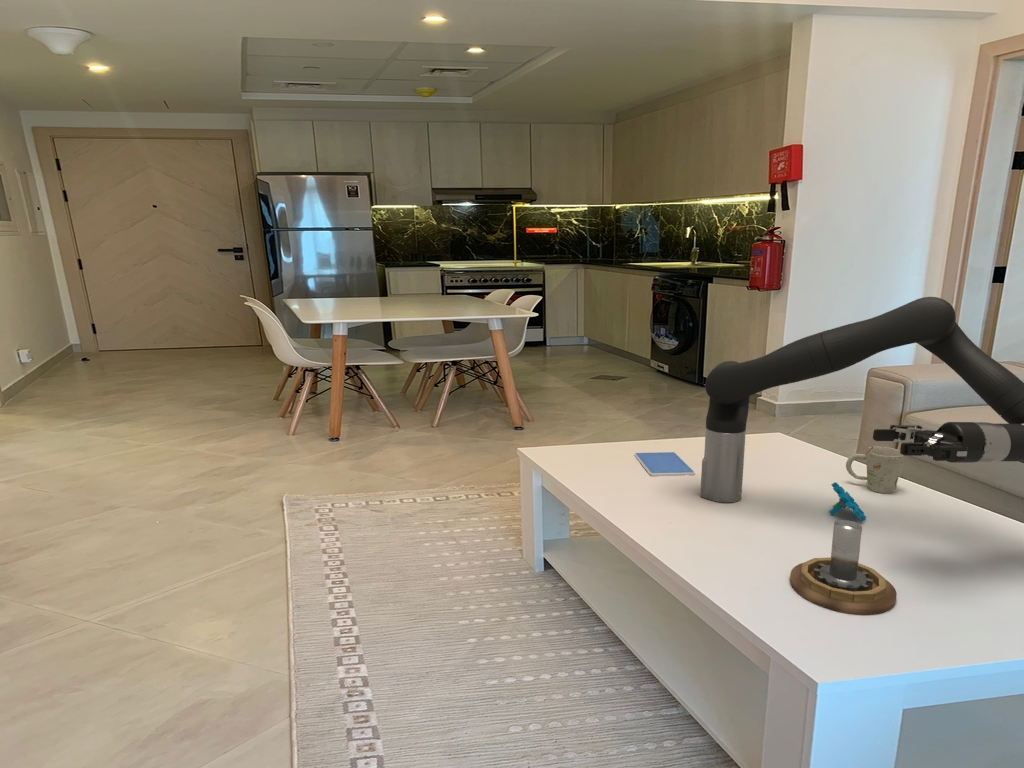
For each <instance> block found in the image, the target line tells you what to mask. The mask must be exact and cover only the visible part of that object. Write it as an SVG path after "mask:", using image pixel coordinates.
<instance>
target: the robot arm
mask: <svg viewBox="0 0 1024 768" xmlns="http://www.w3.org/2000/svg"><path fill="white" fill-rule="evenodd" d="M956 316H957V315H956V311H955V309H954V306H953V305H952V304H951V303H950V302H949V301H947V300H946V299H944V298H941V297H936V296H924V297H920V298H917V299H914V300H912V301H910V302H908V303H905V304H903V305H901V306H898V307H896V308H894V309H892V310H889V311H887V312H883V313H882V314H879V315H877V316H873V317H871V318H868V319H864V320H860V321H856V322H852V323H847V324H844V325H840V326H838V327H834V328H831V329H827V330H824V331H820V332H817V333H814V334H811V335H810V334H809V335H807V336H805V337H802V338H799V339H796V340H795V341H792V342H790V343H788V344H786V345H783V346H781V347H780V348H777V349H775V350H774V351H771V352H770V353H767V354H765V355H763V356H760V357H758V358H753V359H750V360H746V361H742V362H738V361H734V360H727V361H726V360H725V361H723V362H720V363H718V364H717V365H716V366H715V367H713V369H711V371H710V372H709V373H708V374H707V376H706V379H705V384H704V388H705V389H704V390H705V392H706V394H707V396H708V397H709V401H708V402H709V403H708V409H707V414H706V417H705V418H706V419H705V437H704V454H703V455H704V456H703V458H702V460H701V475H700V477H701V478H700V492H699V493H700V497H701V498H705V499H707V500H710V501H713V502H718V503H736V502H739V501H740V500H742V493H743V480H744V479H743V478H744V465H745V446H746V432H747V422H748V417H749V407H750V406H749V405H750V396H753V395H755V394H757V393H761V392H764V391H766V390H768V389H772V388H776V387H780V386H784V385H790V384H794V383H799V382H803V381H807V380H810V379H815V378H819V377H823V376H826V375H828V374H832V373H835V372H839V371H842V370H845V369H847V368H849V367H851V366H855V365H856V364H858V363H860V362H863V361H864V360H866V359H868V358H871V357H873V356H874V355H876V354H879V353H881V352H883V351H887V350H890V349H893V348H895V349H896V348H898V347H903V346H907V345H911V344H918V345H919V346H921V347H922V348H923V349H925V350H927V351H928V352H930V353H931V354H933V355H934V356H935V357H937V358H938V359H939V360H940V361H942V362H943V363H944V364H945V365H947V366H948V367H949V368H950V369H952V370H953V371H954V373H955V374H957V375H958V376H959V377H960V378H961V379H962V380H963V381H964V382H965V383H966V384H967V385H968V386H969V387H970V388H971V389H972V390H973V392H975V393H976V394H977V395H978V396H979V397H980V398H981V399H982V400H983V401H984V402H985V403H986V404H987V406H989V407H990V408H991V409H992V410H993V411H994V412H995V413H996V414H997V415H998V416H1000V418H1001V419H1003V420H1004V421H1005V422H1006V423H992V422H985V421H984V422H983V421H947V422H944V423H943V424H942V425H941V426H940V427H939V428H938V429H934V428H924V429H923V426H921V425H919V424H917V425H911V424H910V425H905V424H902V425H900V424H899V425H898V424H890V426H889V428H875V429H874V430H873V434H872V440H873V441H876V442H895V443H901V444H900V449H899V450H900V453H901V454H902V455H904V456H916V457H917V456H922V457H923V458H926V459H927V458H932V461H935V462H938V461H939V462H944V461H945V462H947V463H954V464H955V463H964V464H965V463H971V464H972V463H974V464H975V463H977V464H979V463H980V464H981V463H983V464H985V463H988V464H989V463H994V462H1020V463H1022V464H1024V382H1023V381H1022V379H1020V378H1019V377H1018V376H1017V375H1016V374H1014V373H1013V372H1012V371H1010V370H1009V369H1008V368H1006V367H1005V366H1004V365H1002V364H1001V363H1000V362H998V361H997V360H996V359H994V358H993V357H992V356H990V355H988V354H987V353H986V352H984V351H983V350H982V349H981V348H980V347H978V346H977V345H976V344H975V342H973V341H972V340H971V339H970V338H969V337H968V336H967V334H966V333H965V332H964V330H963V329H962V328H961V327H960V326H959V324H958V323H957V321H956V319H957V317H956ZM911 440H913V442H912V441H911Z"/></svg>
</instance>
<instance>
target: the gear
mask: <svg viewBox="0 0 1024 768" xmlns="http://www.w3.org/2000/svg"><path fill="white" fill-rule="evenodd" d="M831 487H832V490H833V491H834V492H835V493H836V494H837V496H838V498H839V501H837V502H836V503H834V504H833V505H832V509H830V510H829V511H828V513H829V514H830V515H831V516H833V515H835V514H836V513H837V512H839V511H841V510H842V509H846V508H848V509H851V510H852V513H853V515H855V516H856V517H858V519H860V520H861V521H864V520H865V519H867V516H866V515H865V512H864V511H863V510H862V509H861V508H860V506H859V504H858V503H857V502H856V501H855V499H854V497H852V496H851V494H850V493H849V492H848V491H846V490H845V489H844V488H843V486H840V485H839V483H837V482H833V483H832V484H831Z"/></svg>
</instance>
